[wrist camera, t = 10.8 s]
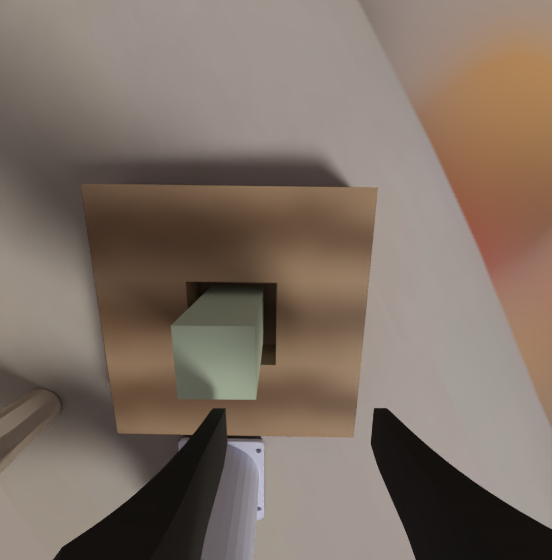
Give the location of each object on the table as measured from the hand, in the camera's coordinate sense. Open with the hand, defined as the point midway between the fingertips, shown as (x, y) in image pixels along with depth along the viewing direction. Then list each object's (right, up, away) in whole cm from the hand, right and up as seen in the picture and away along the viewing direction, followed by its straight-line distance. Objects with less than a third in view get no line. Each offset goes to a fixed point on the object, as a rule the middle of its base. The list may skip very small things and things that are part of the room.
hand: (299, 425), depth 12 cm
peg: (-4, +5, +8) cm, 10 cm away
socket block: (-4, +5, +9) cm, 11 cm away
